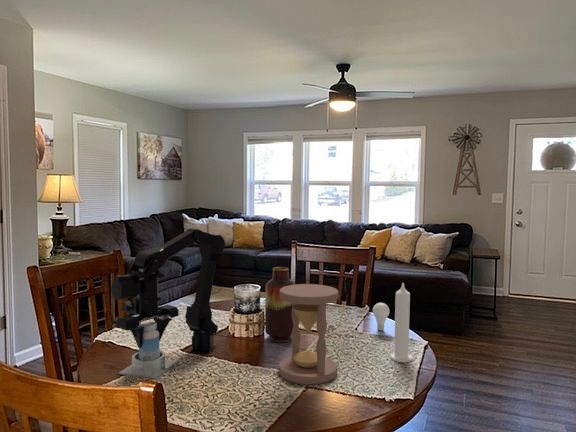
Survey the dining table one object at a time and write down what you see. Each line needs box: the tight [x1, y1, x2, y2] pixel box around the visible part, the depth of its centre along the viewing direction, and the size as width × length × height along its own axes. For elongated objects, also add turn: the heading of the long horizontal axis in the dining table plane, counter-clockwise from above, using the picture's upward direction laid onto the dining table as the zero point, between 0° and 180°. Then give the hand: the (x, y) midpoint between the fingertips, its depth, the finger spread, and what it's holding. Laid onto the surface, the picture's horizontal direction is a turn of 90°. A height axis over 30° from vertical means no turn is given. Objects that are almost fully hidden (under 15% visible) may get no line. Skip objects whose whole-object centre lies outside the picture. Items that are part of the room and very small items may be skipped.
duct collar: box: [118, 349, 177, 380], centre depth 135 cm, size 12×12×4 cm
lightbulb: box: [372, 302, 390, 332], centre depth 173 cm, size 6×6×11 cm
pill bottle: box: [138, 321, 161, 361], centre depth 135 cm, size 6×6×11 cm
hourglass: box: [278, 283, 340, 386], centre depth 133 cm, size 18×18×25 cm
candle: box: [389, 282, 413, 363], centre depth 144 cm, size 7×7×25 cm
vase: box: [264, 266, 296, 344], centre depth 162 cm, size 11×11×26 cm
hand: (148, 344), depth 135 cm, fingers closed on pill bottle, 6 cm apart
